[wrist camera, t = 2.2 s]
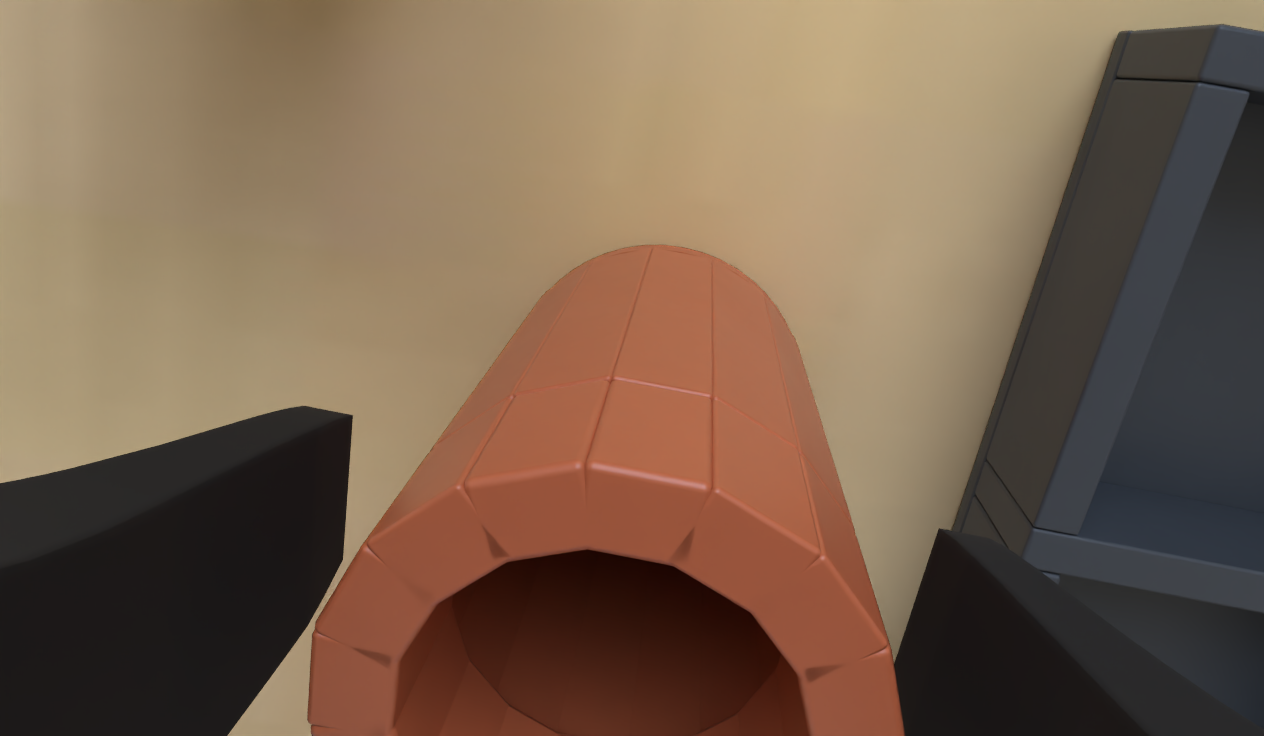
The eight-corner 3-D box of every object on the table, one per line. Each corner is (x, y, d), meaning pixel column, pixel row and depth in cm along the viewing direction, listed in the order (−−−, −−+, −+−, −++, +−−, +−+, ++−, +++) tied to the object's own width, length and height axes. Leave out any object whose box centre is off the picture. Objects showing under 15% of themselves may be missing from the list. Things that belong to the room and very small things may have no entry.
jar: (765, 535, 17) (820, 1004, 9) (500, 483, 17) (293, 895, 9) (831, 274, 15) (982, 537, 7) (535, 219, 15) (321, 411, 7)
